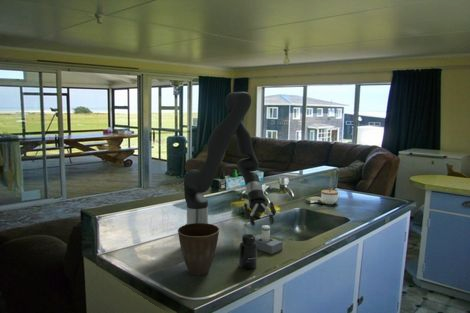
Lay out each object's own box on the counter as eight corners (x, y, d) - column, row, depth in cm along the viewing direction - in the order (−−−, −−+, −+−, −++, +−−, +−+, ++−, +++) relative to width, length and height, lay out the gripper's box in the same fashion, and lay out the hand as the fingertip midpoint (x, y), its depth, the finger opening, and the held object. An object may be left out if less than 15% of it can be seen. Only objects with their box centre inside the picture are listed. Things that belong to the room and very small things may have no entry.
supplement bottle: (251, 272, 133) (251, 240, 131) (235, 267, 136) (235, 237, 135) (260, 265, 139) (260, 235, 137) (244, 261, 142) (245, 231, 141)
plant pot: (219, 280, 126) (219, 235, 124) (176, 281, 125) (176, 236, 123) (218, 262, 141) (218, 222, 139) (179, 263, 140) (179, 223, 138)
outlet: (272, 254, 150) (272, 246, 149) (248, 245, 159) (248, 238, 158) (282, 249, 155) (282, 241, 154) (259, 241, 164) (259, 234, 163)
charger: (266, 249, 154) (266, 228, 153) (259, 247, 157) (260, 226, 155) (271, 247, 157) (271, 226, 156) (264, 245, 159) (265, 224, 158)
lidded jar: (320, 200, 241) (320, 187, 240) (336, 201, 240) (337, 187, 239) (321, 204, 231) (322, 190, 230) (338, 205, 229) (339, 191, 228)
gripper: (242, 189, 163) (249, 221, 154) (271, 188, 167) (280, 219, 157) (238, 198, 169) (245, 229, 159) (267, 196, 173) (275, 227, 163)
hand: (262, 224), depth 158 cm, fingers open, 8 cm apart
